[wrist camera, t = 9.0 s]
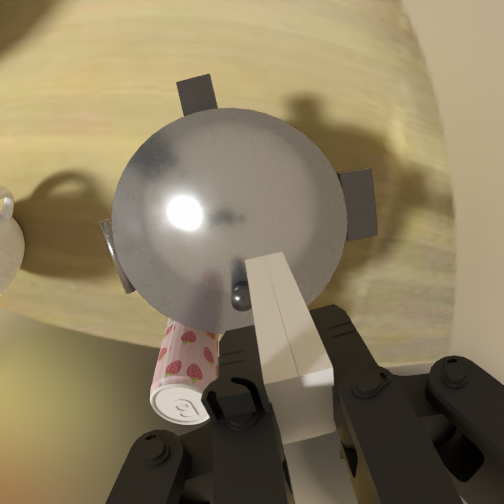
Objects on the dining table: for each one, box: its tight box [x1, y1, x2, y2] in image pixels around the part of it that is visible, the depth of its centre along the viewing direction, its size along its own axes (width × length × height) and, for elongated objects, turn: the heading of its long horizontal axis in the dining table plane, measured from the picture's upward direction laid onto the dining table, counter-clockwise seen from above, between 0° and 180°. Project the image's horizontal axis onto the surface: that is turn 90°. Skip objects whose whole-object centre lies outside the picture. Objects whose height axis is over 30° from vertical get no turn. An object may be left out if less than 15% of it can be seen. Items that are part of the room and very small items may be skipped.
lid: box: [99, 108, 378, 334], centre depth 20 cm, size 17×20×3 cm
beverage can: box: [150, 318, 218, 425], centre depth 29 cm, size 6×6×15 cm
